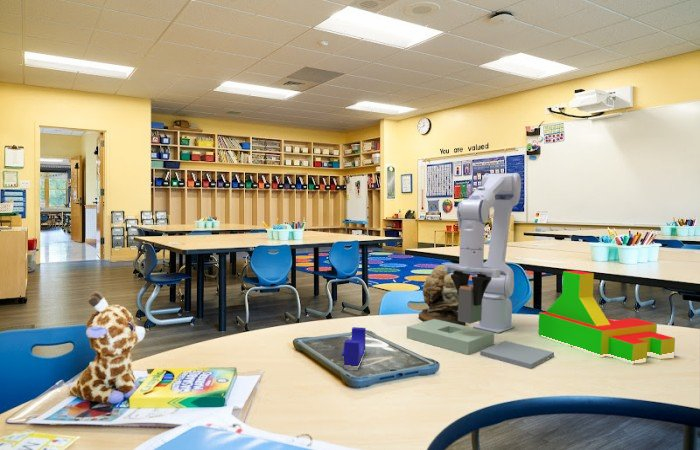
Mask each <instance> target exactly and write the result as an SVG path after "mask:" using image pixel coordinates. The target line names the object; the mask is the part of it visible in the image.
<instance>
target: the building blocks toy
mask: <svg viewBox="0 0 700 450" xmlns="http://www.w3.org/2000/svg"><path fill="white" fill-rule="evenodd" d="M594 276H595V273H593V272H587V271H581V270H564V271H563V272H562V292H561V294H560V295H559V297H557V299H556V300H555V301H554V302H553V303H552V305H550V307H549V308H548V309H547V310H546V311H540V312H538V334H539V335H543V336H546V337H549V338H552V339H555V340H558V341H561V342H564V343H568V344H570V345H573V346H577V347H580V348H583V349H586V350H588V351H591V352H594V353H597V354H600V355H603V354H611V355H614V356H617V357H621V358H625V359H627V360H631V361H635V360H639V359H643V358H647V359H648V357H647V352H653V353H656V354H659V355H662V354H667V353H672V352H674V353H675V349H676V348H675V345H676V344H675V343H676V338H675V337H672V336H669V335H665V334H661V333H657V332H658V331H657V329H658V325H657V323H654V322H651V321H648V320H643V319H639V318H634V317H632V318H623V319H611V318H607V317H606V315H605V313H604V312H603V311H602V308H601V307H600V306H599V304H598V302H597V301H596V299H595V297H594V278H595V277H594Z"/></svg>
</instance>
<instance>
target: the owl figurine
mask: <svg viewBox="0 0 700 450" xmlns="http://www.w3.org/2000/svg"><path fill="white" fill-rule="evenodd" d="M453 273H454V272H450V273H449V271H444V264H440V265H436V266H435V267H434V268H433V270H432V271H431V273H430V274H429V275H427V276H426V279H425V282H423V285H422V286H423V287H422V288H423V289H422V295H423V296H422V297H423V301H424V303H425V304H427V307H428V308H426V309H422V310H421V312H419V313H418V316H419V317H418V319H419V320H420V321H422V322H425V321H429V320H432V319H437V320H441V321H445V322H450V323H454V324H459V325H463V326H467V323H465V322H460V321H458V293H457V289H456V287H455V284H454V282H453V280H452V278H451V274H453Z"/></svg>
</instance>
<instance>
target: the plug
mask: <svg viewBox="0 0 700 450" xmlns="http://www.w3.org/2000/svg"><path fill="white" fill-rule="evenodd" d="M457 312H458V321H460V322H465V323H466V324H469V325H470V324H474V323H477V322H478V323H479V321H481V315H482V302H481V305H478V306H475V305H474V288H473V283H470V284H469V283H468V285H463V286H460V288H459V296H458V311H457Z"/></svg>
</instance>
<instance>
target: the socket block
mask: <svg viewBox="0 0 700 450" xmlns="http://www.w3.org/2000/svg"><path fill="white" fill-rule="evenodd" d="M406 339H409V340H412V341H417V342H420V343H424V344H427V345H431V346H434V347H439V348H441V349H445V350H449V351H453V352H456V353H460V354H463V355H467V356H469V355H472V354H473V353H476V352H478V351H481V350H484V349H486V348H489V347H491V346H494V345H495V332H492V331H488V330H483V329H479V328H475V327H471V326H467V325H465V326H463V325H459V324H454V323H450V322H445V321H441V320H437V319H432V320H429V321H425V322H423V321H422V322H419V323H415V324H411V325H407V326H406Z"/></svg>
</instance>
